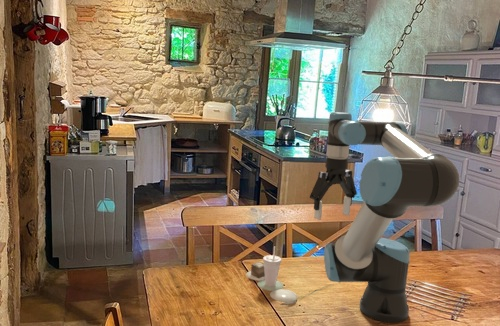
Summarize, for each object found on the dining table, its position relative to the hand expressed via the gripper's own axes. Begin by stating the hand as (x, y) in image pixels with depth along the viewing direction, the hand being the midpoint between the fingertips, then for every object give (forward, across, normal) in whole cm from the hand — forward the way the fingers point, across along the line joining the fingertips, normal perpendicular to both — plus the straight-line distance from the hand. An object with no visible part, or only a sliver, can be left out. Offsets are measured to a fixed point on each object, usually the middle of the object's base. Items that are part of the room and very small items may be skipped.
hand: (332, 216), depth 163 cm
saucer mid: (+25, +20, -7) cm, 33 cm away
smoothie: (+24, +20, -6) cm, 32 cm away
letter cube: (+24, +20, -15) cm, 34 cm away
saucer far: (+25, +20, -15) cm, 35 cm away
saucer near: (+25, +21, +2) cm, 33 cm away
